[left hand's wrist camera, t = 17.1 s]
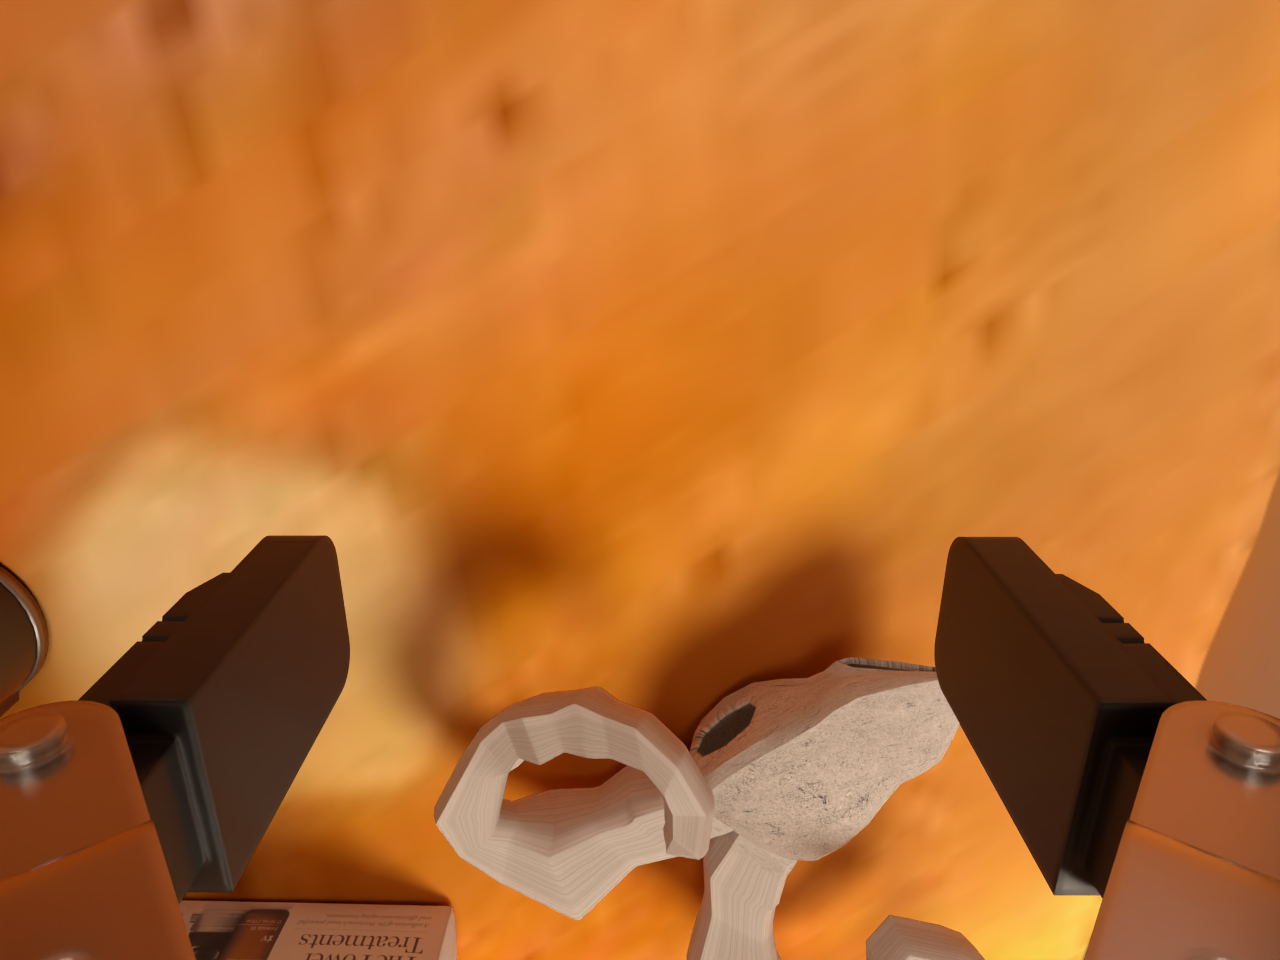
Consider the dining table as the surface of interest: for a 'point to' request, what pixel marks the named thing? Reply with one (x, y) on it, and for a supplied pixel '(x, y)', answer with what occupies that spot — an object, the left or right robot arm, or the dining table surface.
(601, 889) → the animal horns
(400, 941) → the skincare box
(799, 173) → the dining table surface
